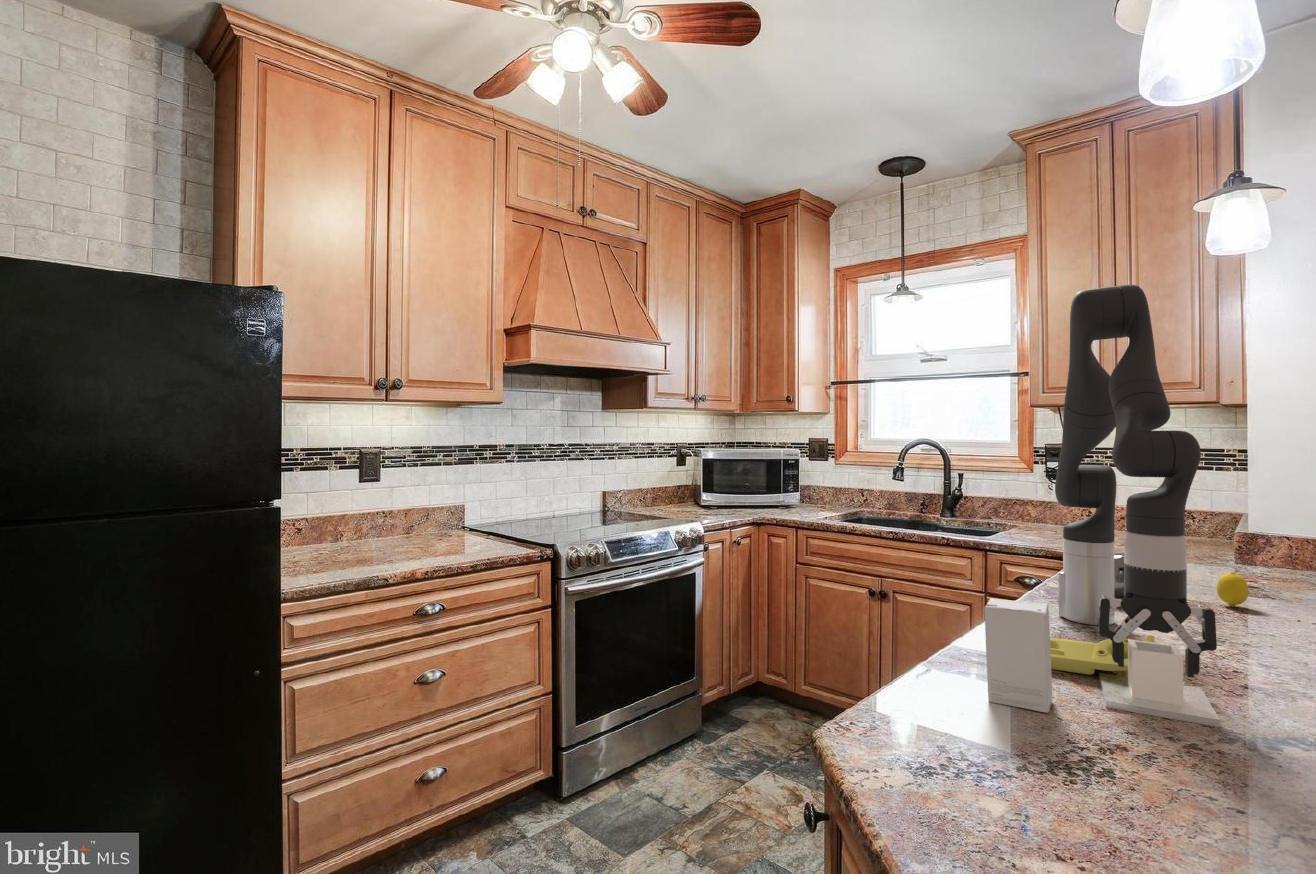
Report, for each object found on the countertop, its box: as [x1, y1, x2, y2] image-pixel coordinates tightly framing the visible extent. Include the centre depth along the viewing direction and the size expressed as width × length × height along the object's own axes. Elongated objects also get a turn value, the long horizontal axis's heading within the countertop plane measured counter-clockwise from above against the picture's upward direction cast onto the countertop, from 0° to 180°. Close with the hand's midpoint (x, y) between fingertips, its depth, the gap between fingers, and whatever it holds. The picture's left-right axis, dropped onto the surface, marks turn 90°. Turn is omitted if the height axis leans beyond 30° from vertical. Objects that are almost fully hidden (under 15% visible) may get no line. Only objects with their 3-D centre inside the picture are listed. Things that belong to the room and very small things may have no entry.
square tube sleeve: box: [1128, 638, 1184, 705], centre depth 99 cm, size 6×6×7 cm
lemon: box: [1216, 571, 1250, 608], centre depth 151 cm, size 6×6×8 cm
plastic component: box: [1050, 634, 1156, 677], centre depth 113 cm, size 20×7×10 cm
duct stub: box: [1099, 672, 1221, 728], centre depth 99 cm, size 13×13×6 cm
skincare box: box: [983, 597, 1053, 714], centre depth 99 cm, size 8×6×15 cm
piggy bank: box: [1114, 552, 1124, 599], centre depth 156 cm, size 11×15×12 cm
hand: (1154, 670), depth 99 cm, fingers open, 8 cm apart
